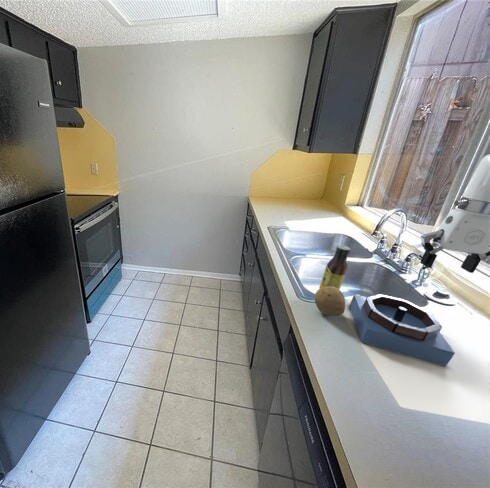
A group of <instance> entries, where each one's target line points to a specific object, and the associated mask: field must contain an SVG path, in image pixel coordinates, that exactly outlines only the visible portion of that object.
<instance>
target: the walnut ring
mask: <svg viewBox="0 0 490 488" xmlns="http://www.w3.org/2000/svg"><path fill="white" fill-rule="evenodd" d="M366 297H367V298H366V300H365V302H364V304H363V307H364V310H365V312H366V314H367V317H369V319H371V320H372V321H374V322H376V323H377V324H379V325H380V326H382V327H384V328H385V329H387V330H388V331H390V332H393V333H394V334H398V335H401V336H405V337H409V338H413V339H416V340H420V341H422V340H423V341H425V340H428V339H430V338H433V337H435V336H437V335H438V333H439V332H440V333H441V331H442V329H443V326H442V324H441V323H440V322H439V320H437V318H436V317H435V315H434V314H433V313H431V312H430V311H429V310H426V309H424V308H423V307H420V306H418V305H416V304H414V303H413V302H411V301H409V300H405V299H403V298H400V297H394V296H390V295H386V294H380V293H377V294H374V295H370V296H366ZM378 304H381V305H385V306H390V307H394V308H398V307H404V308H406V309H407V313H409V314H411V315H412V316H414V317H416V318H418V319H420V320H422V321H423V323H424V324H425V326H426V327H427V328H425V329H421V328H417V327H413V326H409V325H406V324H402V323H398V322H396V321H394V320H392V319H391V318H389V317H387V316H386V315H384V314H382V313H381V312H379V311H377V310H376V308H375V306H374V305H378Z"/></svg>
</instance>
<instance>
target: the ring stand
mask: <svg viewBox="0 0 490 488" xmlns="http://www.w3.org/2000/svg"><path fill="white" fill-rule="evenodd" d="M367 297H368V296H362V295H358V294H353V296H352V298H351V301H350V303H349V310H350V312H351V316H352V318H353V322H354V324H355V327H356V330H357V334H358V336H359V339H360V342H361V343H363V344H367V345H369V346H374V347H377V348H380V349H383V350H387V351H390V352H394V353H397V354H401V355H404V356H407V357H411V358H413V359H414V358H415V359H418V360H422V361H425V362H428V363H432V364H434V365H438V366H442V367H447V366H448V365H449V363H450V361H451V360H452V358H453V357H454V356H455V354H456V352H455V351H454V349H453V348H452V347H451V345H450V344H449V342H448V341H447V340H446V338H445V337H444V336H443V334H442V333H441V331H440V332H439V333H438V335H437V336H435V337H433V338H430V339H428V340H425V341H423V340H422V341H420V340H416V339H413V338H409V337H405V336H401V335H398V334H394V333H393V332H390V331H388V330H387V329H385V328H384V327H382V326H380V325H379V324H377V323H376V322H374V321H372V320H371V319H369V317H367V314H366V312H365V310H364V307H363V304H364V302H365V300H366V298H367ZM374 306H375V308H376V310H377V311H379V312H381V313H382V314H384V315H386V316H387V317H389V318H391V319H392V320H394V321H396V322H398V323H402V324H406V325H409V326H413V327H417V328H421V329H425V328H427V327H426V326H425V324H424V323H423V321H422V320H420V319H418V318H416V317H414V316H412V315H411V314H409V313H407V309H406V308H404V307H398V308H394V307H390V306H385V305H381V304H378V305H374Z"/></svg>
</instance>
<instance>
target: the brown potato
mask: <svg viewBox="0 0 490 488" xmlns="http://www.w3.org/2000/svg"><path fill="white" fill-rule="evenodd" d="M313 298H314V300H313V301H314V303H315V305H316V307H317V310H318V311H319V312H320V313H321V314H323V315H325V316H341V315H343V314H344V313H345V310H346V298H345V295H344V293H343V291H341V289H340V290H339V289H337V288H335V287H331V286H328V287H323V288H321V289H319V288H318V289H317V290H316V292H315V293H314V295H313Z"/></svg>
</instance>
